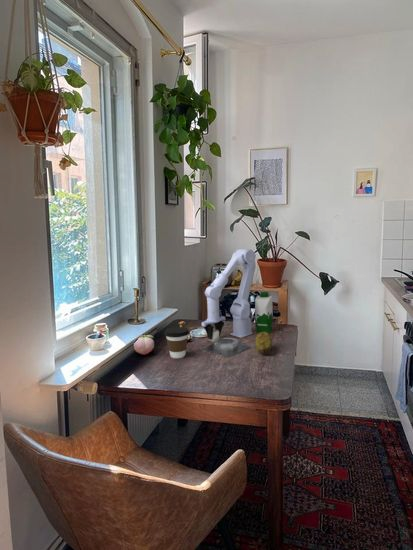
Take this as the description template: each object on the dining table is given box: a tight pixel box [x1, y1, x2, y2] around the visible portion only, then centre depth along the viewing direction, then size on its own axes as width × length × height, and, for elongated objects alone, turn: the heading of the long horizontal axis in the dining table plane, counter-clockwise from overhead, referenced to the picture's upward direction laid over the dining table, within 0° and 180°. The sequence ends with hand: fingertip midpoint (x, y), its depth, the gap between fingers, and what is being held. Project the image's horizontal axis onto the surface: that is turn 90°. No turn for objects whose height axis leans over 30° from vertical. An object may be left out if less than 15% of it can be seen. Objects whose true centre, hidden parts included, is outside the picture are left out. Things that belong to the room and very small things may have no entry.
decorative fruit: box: [133, 333, 155, 356], centre depth 184 cm, size 9×8×10 cm
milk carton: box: [254, 291, 274, 334], centre depth 212 cm, size 9×9×20 cm
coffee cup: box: [164, 326, 190, 359], centre depth 181 cm, size 11×11×12 cm
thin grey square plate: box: [201, 337, 252, 358], centre depth 188 cm, size 16×16×4 cm
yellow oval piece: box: [255, 332, 273, 355], centre depth 183 cm, size 8×13×8 cm, turn 160°
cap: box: [208, 328, 220, 343], centre depth 201 cm, size 5×5×5 cm
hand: (214, 337), depth 201 cm, fingers closed on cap, 5 cm apart
